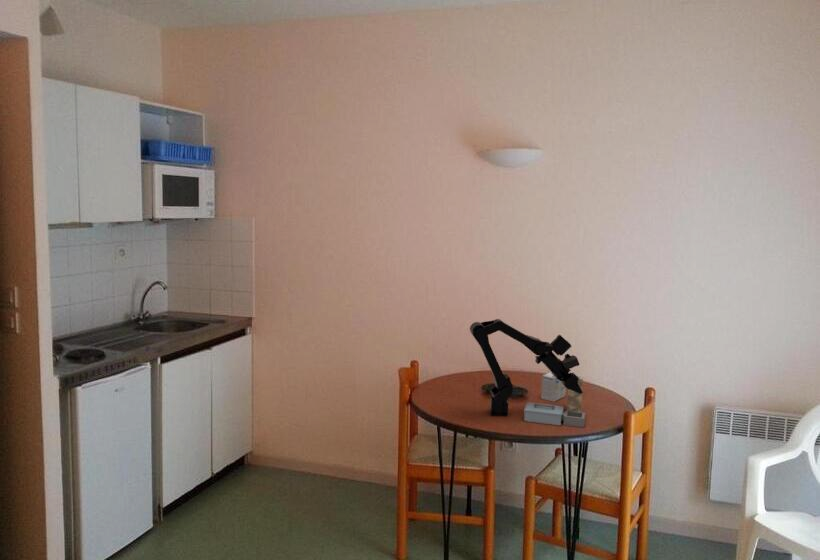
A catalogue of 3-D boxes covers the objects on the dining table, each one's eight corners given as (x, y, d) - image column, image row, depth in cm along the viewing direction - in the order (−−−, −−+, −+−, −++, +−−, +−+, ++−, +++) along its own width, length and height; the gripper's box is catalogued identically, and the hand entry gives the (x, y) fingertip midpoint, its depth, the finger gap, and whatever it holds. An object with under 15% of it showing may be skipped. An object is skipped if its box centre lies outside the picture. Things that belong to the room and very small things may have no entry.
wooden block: (570, 414, 267) (572, 379, 265) (566, 411, 271) (568, 376, 269) (580, 414, 267) (582, 379, 265) (577, 411, 272) (579, 376, 270)
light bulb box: (552, 393, 296) (553, 370, 294) (565, 396, 292) (567, 372, 290) (540, 398, 288) (541, 374, 286) (554, 402, 283) (556, 377, 282)
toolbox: (523, 421, 259) (524, 405, 258) (527, 412, 268) (528, 398, 268) (583, 428, 252) (584, 413, 251) (584, 419, 261) (585, 404, 261)
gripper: (574, 355, 256) (600, 382, 259) (560, 344, 275) (585, 370, 277) (554, 374, 257) (580, 402, 259) (541, 362, 275) (565, 388, 278)
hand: (578, 389), depth 268 cm, fingers open, 9 cm apart
